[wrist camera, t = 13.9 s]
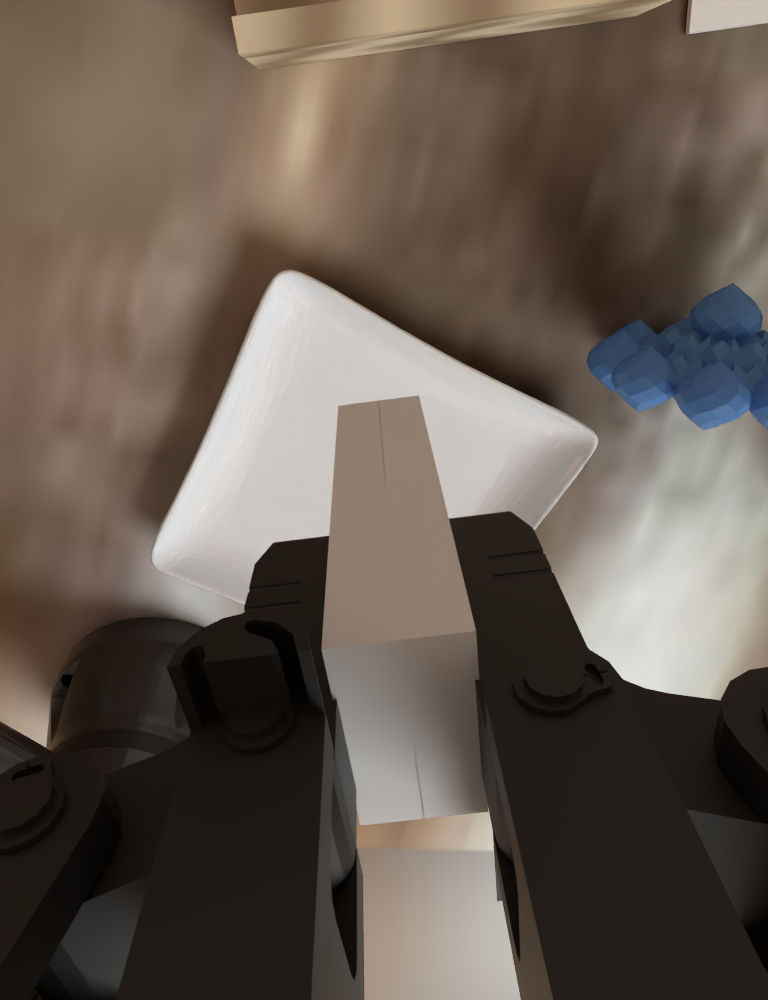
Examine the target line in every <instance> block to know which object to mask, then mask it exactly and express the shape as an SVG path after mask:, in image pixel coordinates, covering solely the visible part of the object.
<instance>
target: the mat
mask: <svg viewBox="0 0 768 1000" xmlns="http://www.w3.org/2000/svg"><path fill="white" fill-rule="evenodd" d="M764 23H768V0H688V11H687V23H686V34H685V35H687V34H694V33H701V32H708V31H715V30H722V29H729V28H736V27H743V26H750V25H757V24H764Z"/></svg>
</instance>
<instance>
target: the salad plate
mask: <svg viewBox="0 0 768 1000" xmlns="http://www.w3.org/2000/svg"><path fill="white" fill-rule="evenodd" d="M418 395H419V398H420V402H421V406H422V411H423V415H424V419H425V423H426V427H427V431H428V435H429V439H430V443H431V448H432V452H433V456H434V460H435V464H436V468H437V472H438V476H439V480H440V485H441V489H442V493H443V497H444V501H445V505H446V509H447V513H448V517H449V518H458V517H466V516H474V515H482V514H490V513H498V512H506V511H511V512H512V513H514V514H515V515H516V516H518V517H519V518H520V519H522V520H523V521H524V522H526V523H527V524H528V525H530V526H531V527H533V529H534V530H535V529H536V527H537V526H538V525H539V524H540V522H541V521H542V520H543V519H544V517H545V516H546V515H547V514H548V512H549V511H550V510H551V509H552V507H553V506H554V505H555V504H556V502H557V501H558V500H559V498H560V497H561V496H562V495H563V493H564V492H565V491H566V489H567V488H568V487H569V486H570V484H571V483H572V482H573V480H574V479H575V478H576V476H577V475H578V474H579V472H580V471H581V470H582V468H583V467H584V465H585V464H586V462H587V461H588V460H589V458H590V457H591V455H592V454H593V452H594V450H595V449H596V447H597V444H598V437H597V435H596V434H595V433H594V431H593V430H592V429H590V428H589V427H588V426H586V425H585V424H583V423H582V422H580V421H578V420H576V419H575V418H573V417H571V416H569V415H568V414H566V413H564V412H562V411H560V410H558V409H556V408H554V407H552V406H550V405H547V404H545V403H543V402H541V401H539V400H537V399H535V398H533V397H531V396H529V395H527V394H524V393H522V392H520V391H518V390H516V389H514V388H512V387H510V386H508V385H506V384H504V383H502V382H500V381H498V380H496V379H494V378H492V377H490V376H488V375H486V374H484V373H482V372H480V371H478V370H476V369H474V368H472V367H470V366H468V365H466V364H464V363H462V362H460V361H458V360H456V359H455V358H453V357H451V356H449V355H447V354H445V353H444V352H442V351H440V350H438V349H436V348H434V347H433V346H431V345H429V344H427V343H425V342H424V341H422V340H420V339H418V338H416V337H415V336H413V335H411V334H409V333H408V332H406V331H404V330H402V329H400V328H399V327H397V326H396V325H394V324H392V323H391V322H389V321H387V320H385V319H384V318H382V317H380V316H379V315H377V314H375V313H374V312H372V311H370V310H369V309H367V308H365V307H364V306H362V305H360V304H359V303H357V302H355V301H354V300H352V299H350V298H349V297H347V296H345V295H344V294H342V293H340V292H338V291H337V290H335V289H333V288H331V287H329V286H328V285H326V284H324V283H322V282H320V281H319V280H317V279H315V278H313V277H311V276H308V275H306V274H304V273H302V272H299V271H295V270H283V271H281V272H279V273H278V274H277V275H275V276H274V277H273V279H272V280H271V282H270V283H269V285H268V287H267V289H266V290H265V292H264V294H263V296H262V298H261V300H260V303H259V305H258V307H257V309H256V312H255V314H254V316H253V319H252V321H251V324H250V326H249V329H248V331H247V334H246V336H245V339H244V341H243V344H242V346H241V349H240V351H239V353H238V356H237V358H236V361H235V363H234V366H233V368H232V371H231V373H230V375H229V378H228V380H227V383H226V385H225V387H224V390H223V392H222V395H221V397H220V399H219V402H218V404H217V407H216V409H215V411H214V414H213V416H212V418H211V421H210V423H209V426H208V428H207V431H206V433H205V435H204V437H203V439H202V441H201V444H200V446H199V448H198V450H197V452H196V455H195V457H194V459H193V461H192V463H191V465H190V468H189V470H188V472H187V473H186V475H185V478H184V480H183V482H182V484H181V486H180V488H179V490H178V492H177V494H176V496H175V498H174V500H173V502H172V504H171V506H170V508H169V510H168V512H167V514H166V516H165V518H164V520H163V522H162V524H161V526H160V528H159V531H158V533H157V536H156V538H155V541H154V543H153V547H152V551H151V562H152V564H153V565H154V567H155V568H156V569H158V570H160V571H162V572H163V573H165V574H168V575H170V576H172V577H174V578H177V579H179V580H182V581H185V582H187V583H190V584H192V585H194V586H197V587H199V588H202V589H205V590H207V591H210V592H213V593H215V594H218V595H221V596H223V597H226V598H228V599H231V600H234V601H236V602H239V603H242V604H244V605H245V602H246V598H247V594H248V592H249V586H250V582H251V577H252V573H253V569H254V565H255V563H256V562H257V561H258V560H259V559H260V557H261V556H262V555H263V554H264V553H265V552H266V550H267V549H268V548H269V547H270V546H271V545H272V543H274V542H282V541H290V540H298V539H306V538H314V537H323V536H329V532H330V517H331V503H332V489H333V474H334V460H335V445H336V431H337V416H338V406H340V405H347V404H355V403H363V402H371V401H379V400H386V399H394V398H402V397H410V396H418Z"/></svg>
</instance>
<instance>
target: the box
mask: <svg viewBox="0 0 768 1000" xmlns="http://www.w3.org/2000/svg"><path fill="white" fill-rule="evenodd" d="M669 1H671V0H234V4H235V9H236V15H237V16H232V22H233V27H234V33H235V38H236V43H237V48H238V54H239V55H241V56H242V57H243V58H245V59H246V60H248V61H249V62H250V63H252V64H253V65H254V66H256V67H257V68H259V69H260V70H262V69H269V68H276V67H283V66H290V65H297V64H305V63H312V62H319V61H326V60H333V59H340V58H347V57H354V56H361V55H368V54H375V53H382V52H389V51H396V50H403V49H410V48H417V47H424V46H431V45H438V44H445V43H452V42H459V41H466V40H473V39H480V38H487V37H494V36H501V35H508V34H516V33H523V32H530V31H537V30H544V29H551V28H558V27H565V26H572V25H579V24H586V23H593V22H600V21H607V20H614V19H621V18H628V17H635V16H637V15H639V14H642V13H644V12H646V11H648V10H651V9H653V8H655V7H657V6H660V5H662V4H664V3H666V2H669Z"/></svg>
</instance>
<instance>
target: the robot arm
mask: <svg viewBox="0 0 768 1000" xmlns="http://www.w3.org/2000/svg"><path fill="white" fill-rule="evenodd" d="M244 609H245V613H243V614H239V615H235V616H231V617H227V618H223V619H221V620H219V621H217V622H215V623H213V624H211V625H209V626H207V627H205V628H203V629H202V628H200V627H197V626H194V625H191V624H187V623H184V622H179V621H174V620H168V619H158V618H141V619H131V620H125V621H120V622H116V623H113V624H110V625H107V626H104V627H102V628H100V629H98V630H96V631H94V632H92V633H91V634H89V635H88V636H86V637H85V638H84V639H82V640H81V641H80V642H79V643H78V644H77V645H76V646H75V647H74V649H73V650H72V651H71V653H70V654H69V656H68V658H67V660H66V661H65V663H64V665H63V667H62V669H61V670H60V672H59V674H58V676H57V678H56V680H55V683H54V687H53V690H52V695H51V704H50V715H49V725H48V735H47V745H46V748H45V747H44V746H42V745H40V744H38V743H37V742H35V741H33V740H31V739H30V738H28V737H26V736H25V735H23V734H21V733H19V732H18V731H16V730H14V729H12V728H11V727H9V726H7V725H6V724H4V723H2V722H0V1000H364V934H363V874H362V869H361V864H360V860H359V855H358V851H357V847H356V808H357V813H358V817H359V822H360V826H361V825H370V824H379V823H388V822H397V821H406V820H415V819H424V818H433V817H442V816H451V815H461V814H470V813H479V812H488V808H489V813H490V818H491V823H492V828H493V840H494V855H495V871H496V887H497V901H503V906H504V911H505V917H506V922H507V928H508V933H509V937H510V943H511V949H512V954H513V959H514V965H515V970H516V975H517V981H518V986H519V991H520V997H521V1000H768V667H766V668H759V669H752V670H749V671H747V672H745V673H743V674H742V675H740V676H738V677H737V678H735V679H733V680H731V681H730V683H729V685H728V687H727V689H726V691H725V693H724V694H723V696H722V698H721V701H720V700H713V699H705V698H698V697H691V696H683V695H676V694H668V693H664V692H659V691H654V690H650V689H645V688H643V687H640V686H638V685H635V684H633V683H630V682H627V681H625V680H623V679H622V678H621V677H620V675H619V674H618V673H617V672H616V670H615V669H614V668H613V666H612V665H611V664H610V663H609V662H608V661H607V660H605V659H604V658H602V657H600V656H599V655H597V654H596V653H594V652H592V651H591V650H589V649H588V647H587V646H586V644H585V641H584V639H583V637H582V635H581V633H580V630H579V628H578V626H577V624H576V622H575V619H574V617H573V615H572V613H571V611H570V608H569V606H568V604H567V602H566V600H565V597H564V595H563V593H562V591H561V589H560V586H559V584H558V582H557V580H556V578H555V575H554V573H552V571H551V567H550V564H549V562H548V560H547V558H546V556H545V554H543V549H542V547H541V545H540V542H539V540H538V538H537V536H536V534H535V531H534V529H533V527H531V526H530V525H528V524H527V523H526V522H524V521H523V520H522V519H520V518H519V517H518V516H516V515H515V514H514V513H512V512H511V511H506V512H498V513H490V514H482V515H474V516H466V517H458V518H449V517H448V513H447V509H446V505H445V501H444V497H443V493H442V489H441V485H440V480H439V476H438V472H437V468H436V464H435V460H434V456H433V452H432V448H431V443H430V439H429V435H428V431H427V427H426V423H425V419H424V415H423V411H422V406H421V402H420V398H419V395H418V396H410V397H402V398H394V399H386V400H379V401H371V402H363V403H355V404H347V405H340V406H338V416H337V431H336V445H335V460H334V474H333V489H332V503H331V517H330V532H329V536H323V537H314V538H306V539H298V540H290V541H282V542H274V543H272V545H271V546H270V547H269V548H268V549H267V550H266V552H265V553H264V554H263V555H262V556H261V557H260V559H259V560H258V561H257V562H256V563H255V565H254V569H253V573H252V577H251V582H250V586H249V592H248V594H247V598H246V602H245V607H244Z"/></svg>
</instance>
